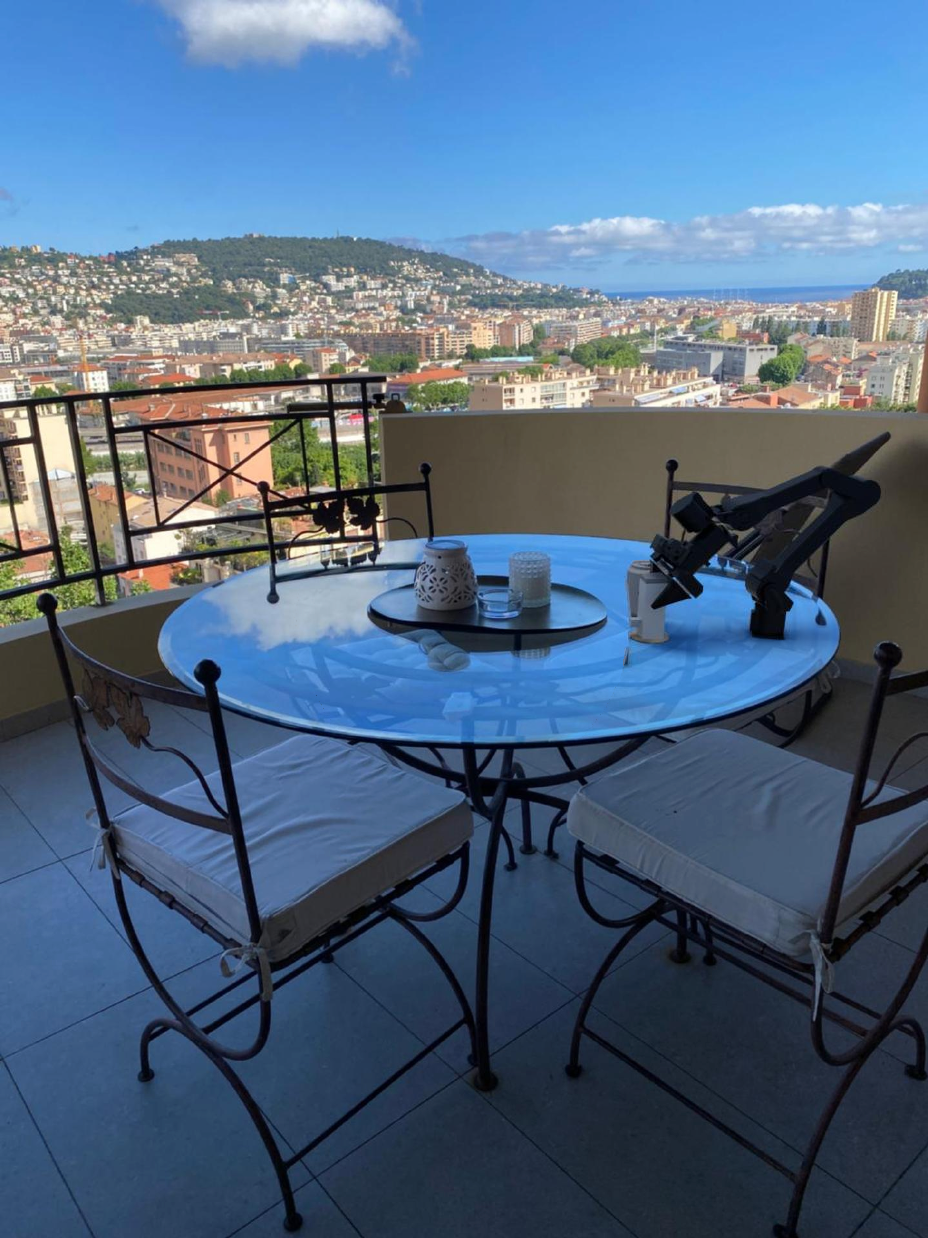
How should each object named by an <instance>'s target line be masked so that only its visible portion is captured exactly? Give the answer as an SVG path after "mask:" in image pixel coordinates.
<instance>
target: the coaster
mask: <svg viewBox="0 0 928 1238" xmlns="http://www.w3.org/2000/svg"><path fill="white" fill-rule="evenodd" d="M629 638H630V639H632V640H633V639H634V640H633V641H635V640H636V642H638V641H639V643H643V644H649V643H657V644H663V643H665V641H666V642H668V641H669V640H668V639H670V636H669V634H668V633H667V632H665V631H664V637H663V639H642V638H641V637H640V636H639V635H638V634H637V632H636V629H635V630H632V631H630V632H629ZM662 642H663V643H662Z"/></svg>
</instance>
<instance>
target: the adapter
mask: <svg viewBox="0 0 928 1238" xmlns="http://www.w3.org/2000/svg"><path fill="white" fill-rule="evenodd" d="M667 584H668V578H667V577H666V576H664V575H663V574H662V573H640V583H639V598H638V613H637V617H636V616H632V617H630V628H636V629H635V630H636V632H637V634H638V635H639V636H640V637H641V638H642V639H663V637H664V632H665V624H666V622H665V621H666V608H667V606H664V607H661V608H658V609H655V610H654V609H652V608H651V604H652V603H653V602H654V600H655V599H656V598H657V597H658V596H659V595H660V593H661V592H662V591H663V590H664V589H665V588H666V586H667Z"/></svg>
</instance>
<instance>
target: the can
mask: <svg viewBox="0 0 928 1238" xmlns="http://www.w3.org/2000/svg"><path fill="white" fill-rule="evenodd" d="M649 572H650V559H649V560H646V559H640V560H637V559H636V560H632V561H631V562H630V566H628V568H627V571H626V585H627V590H628V600H629V610H630V616H631V617H637V613H638V598H639V594H638V591H639V583H640V573H649Z"/></svg>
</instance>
